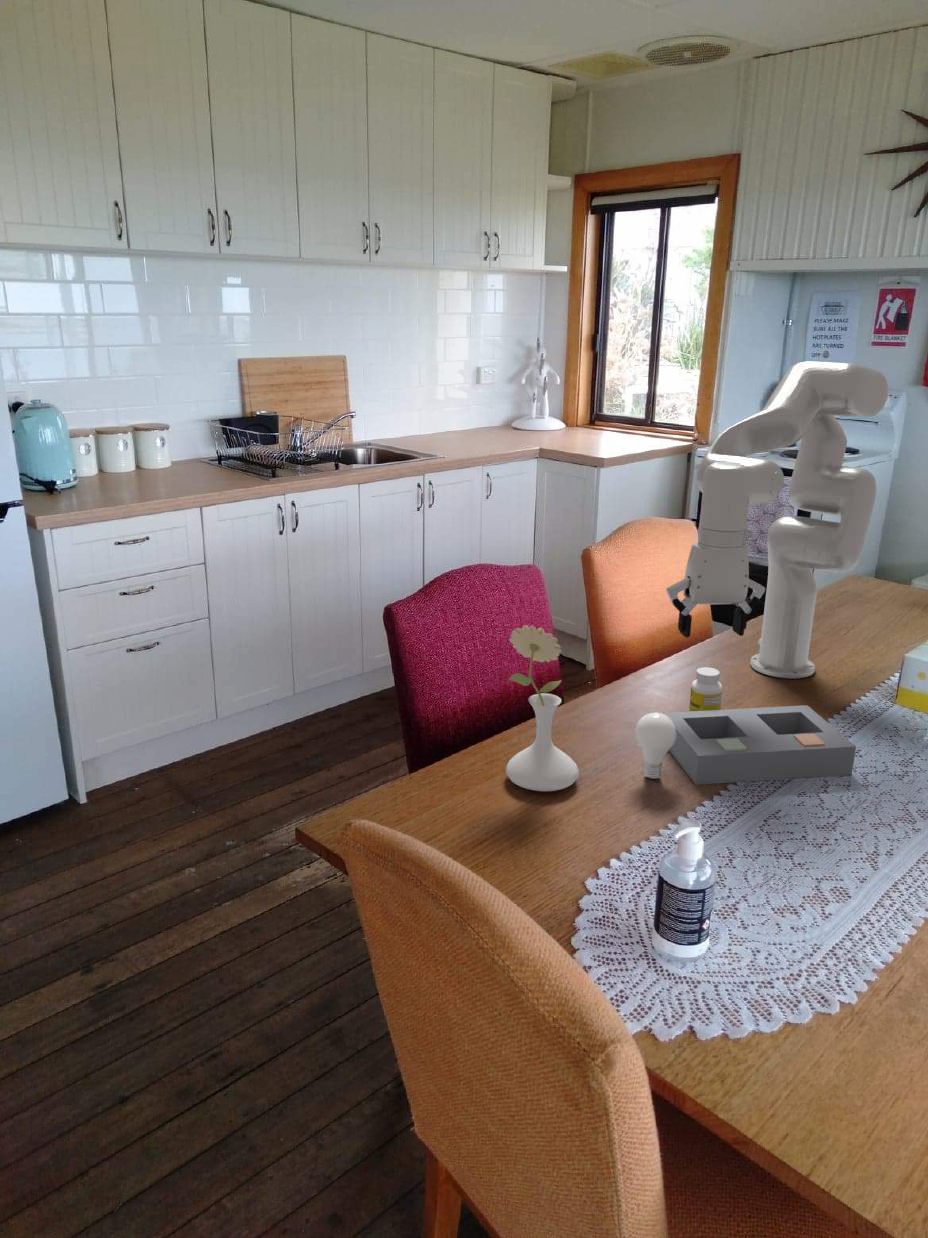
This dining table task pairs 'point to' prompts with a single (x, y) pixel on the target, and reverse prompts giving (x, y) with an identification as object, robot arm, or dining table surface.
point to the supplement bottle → (706, 690)
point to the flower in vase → (540, 721)
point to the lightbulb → (655, 741)
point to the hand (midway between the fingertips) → (711, 634)
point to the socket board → (759, 745)
